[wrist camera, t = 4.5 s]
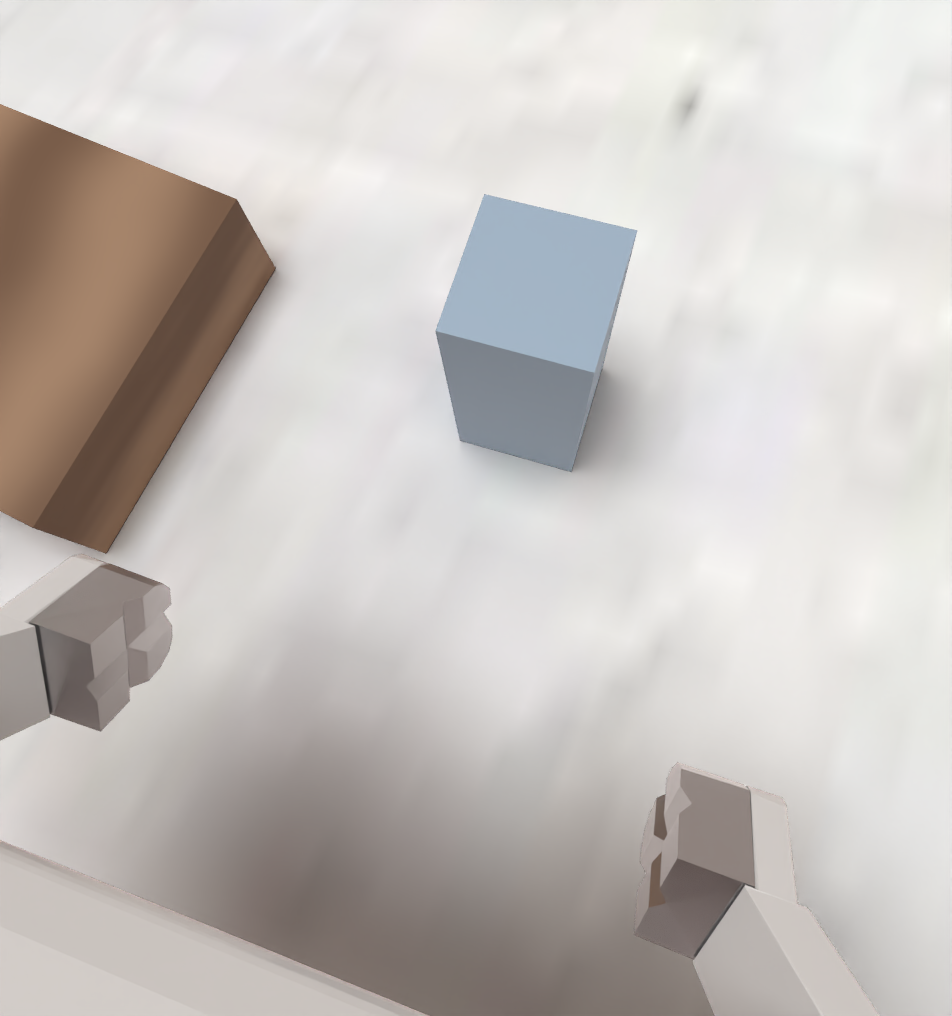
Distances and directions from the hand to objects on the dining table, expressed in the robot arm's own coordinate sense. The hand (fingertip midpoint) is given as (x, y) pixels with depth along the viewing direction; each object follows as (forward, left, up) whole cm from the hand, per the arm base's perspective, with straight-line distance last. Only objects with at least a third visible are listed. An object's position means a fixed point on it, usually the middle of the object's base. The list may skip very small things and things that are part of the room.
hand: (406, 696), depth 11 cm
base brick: (+19, -5, -13) cm, 24 cm away
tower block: (+2, -10, -13) cm, 16 cm away
